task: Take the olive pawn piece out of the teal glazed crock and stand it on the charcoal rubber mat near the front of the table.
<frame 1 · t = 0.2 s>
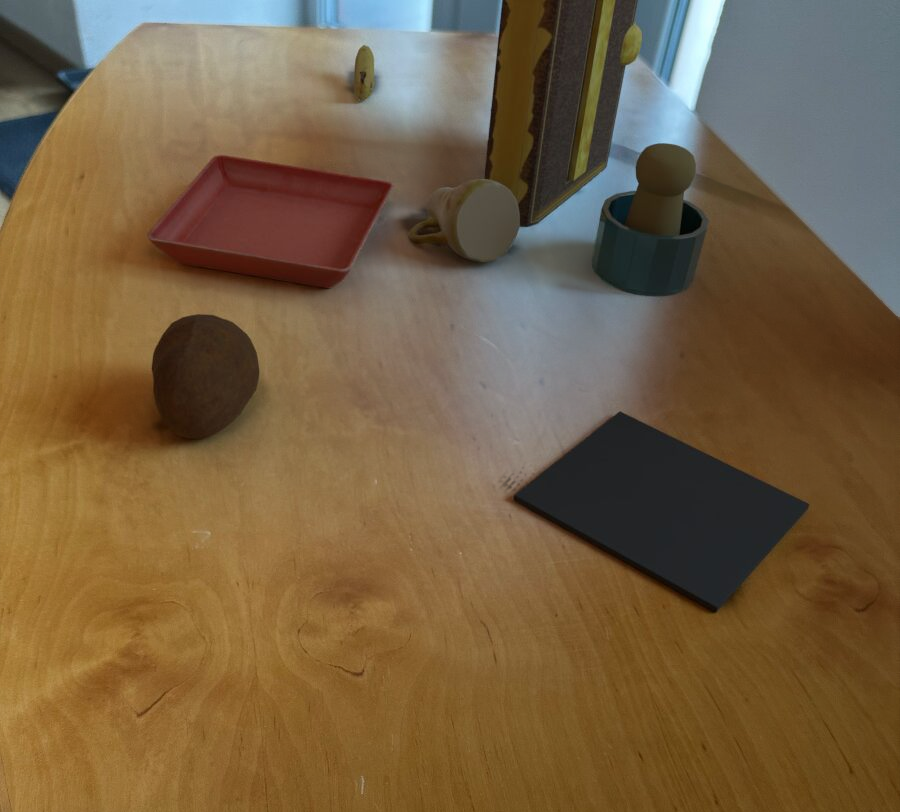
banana: (363, 95, 122), on the table
book: (548, 186, 108), on the table
plant saucer: (278, 243, 95), on the table
mug: (459, 247, 97), on the table
potato: (209, 419, 75), on the table
crock: (642, 270, 96), on the table
olive pawn piece: (642, 269, 96), resting on crock
mat: (662, 504, 72), on the table
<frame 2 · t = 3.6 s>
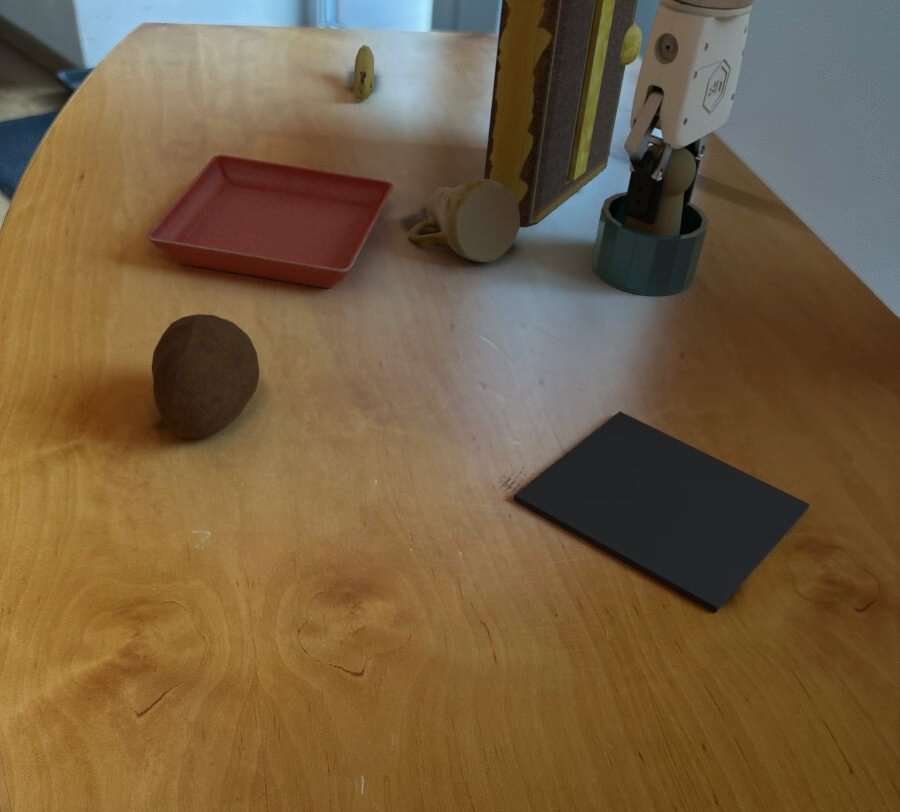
hand: (656, 206, 92), 6 cm above the table, tool pointing down, fingers closed on olive pawn piece, 5 cm apart
olive pawn piece: (642, 269, 96), resting on crock, touching gripper
everything else where it was.
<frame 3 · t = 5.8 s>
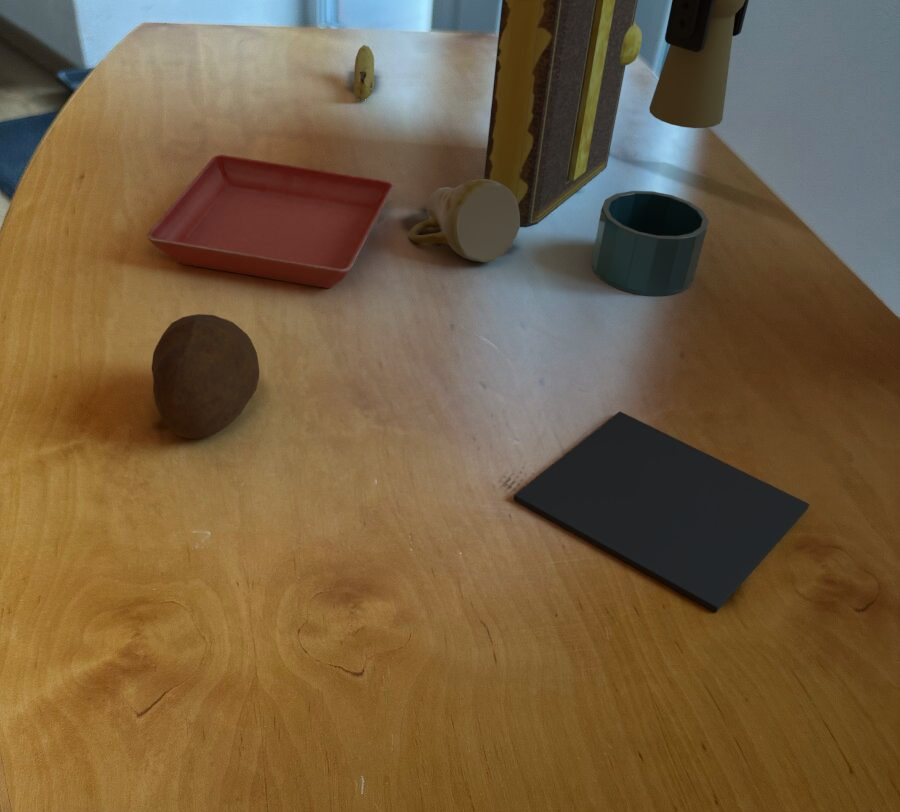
hand: (703, 36, 80), 21 cm above the table, tool pointing down, fingers closed on olive pawn piece, 5 cm apart
olive pawn piece: (685, 116, 84), point 15 cm above the table, touching gripper
everything else where it was.
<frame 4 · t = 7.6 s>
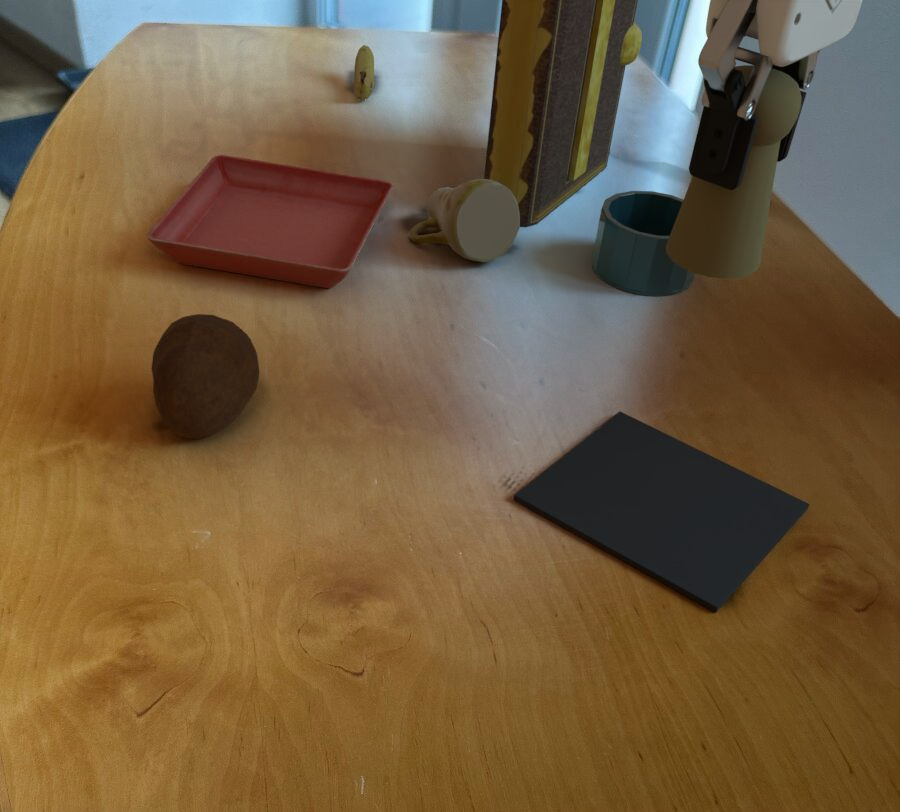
hand: (738, 164, 61), 21 cm above the table, tool pointing down, fingers closed on olive pawn piece, 5 cm apart
olive pawn piece: (711, 258, 65), point 15 cm above the table, touching gripper
everything else where it was.
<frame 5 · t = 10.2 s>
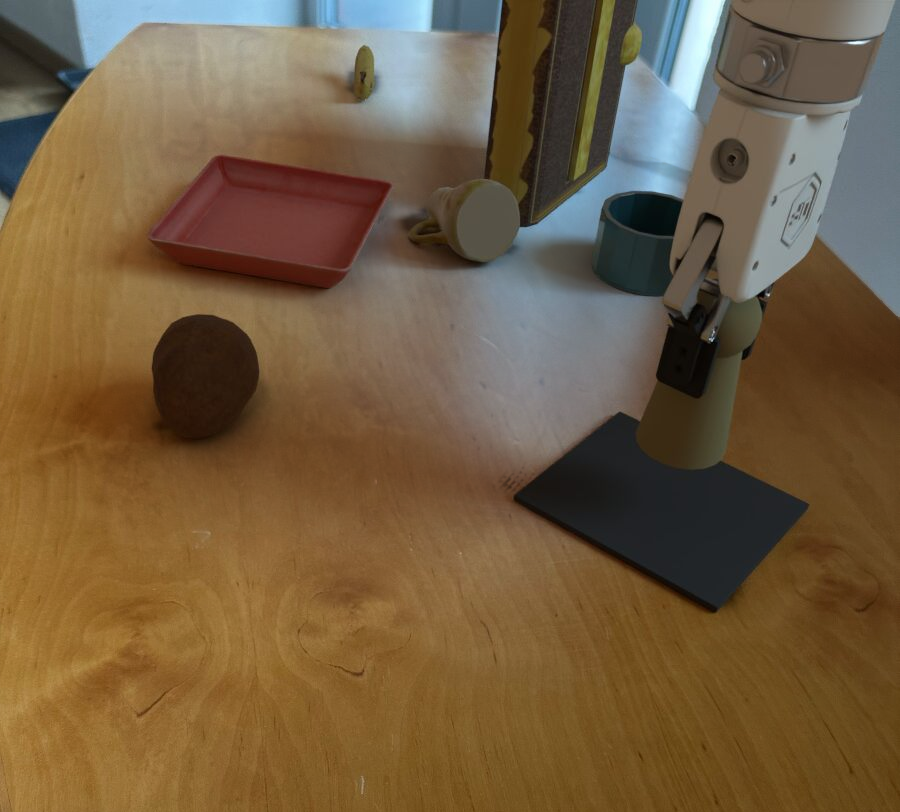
hand: (703, 366, 64), 11 cm above the table, tool pointing down, fingers closed on olive pawn piece, 5 cm apart
olive pawn piece: (679, 443, 68), point 5 cm above the table, touching gripper
everything else where it was.
when the fingers open (6 cm above the table, at t = 11.9 s): olive pawn piece stays where it is, resting on mat.
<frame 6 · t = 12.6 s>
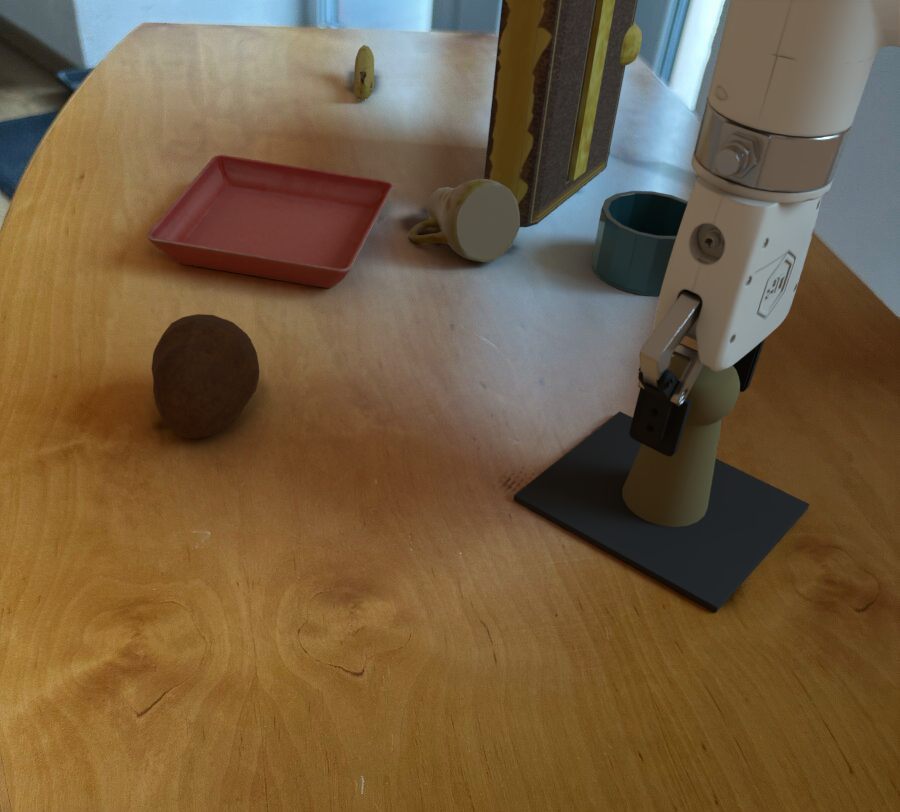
hand: (690, 412, 66), 8 cm above the table, tool pointing down, fingers open, 9 cm apart
olive pawn piece: (664, 500, 72), resting on mat
everything else where it was.
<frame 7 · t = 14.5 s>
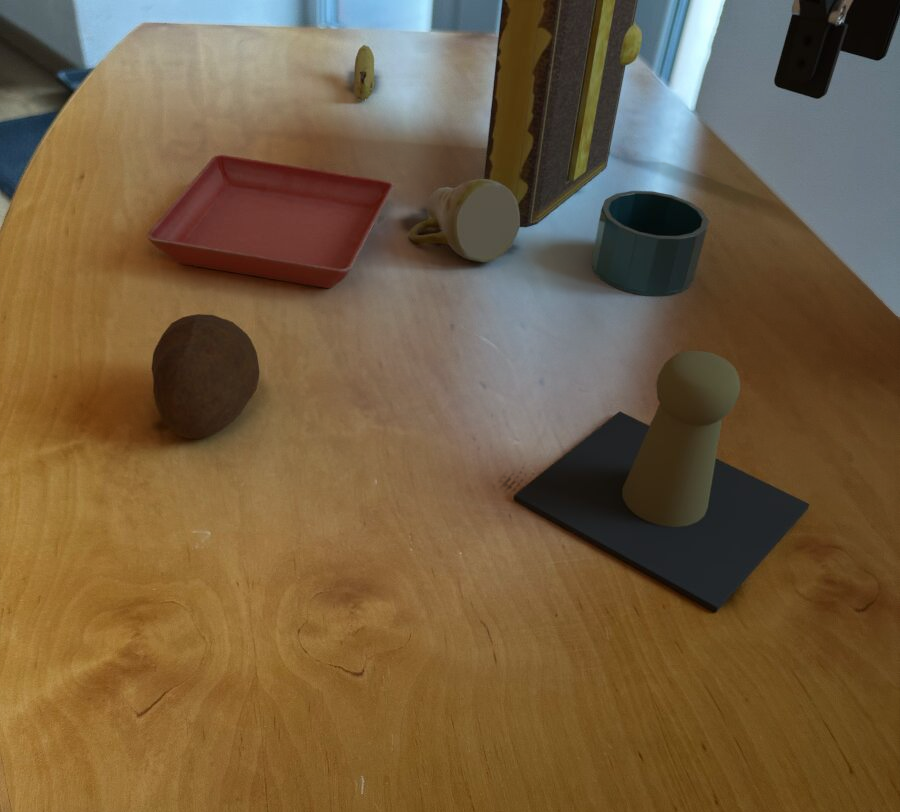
hand: (830, 72, 64), 25 cm above the table, tool pointing down, fingers open, 9 cm apart
nothing on the table moved.
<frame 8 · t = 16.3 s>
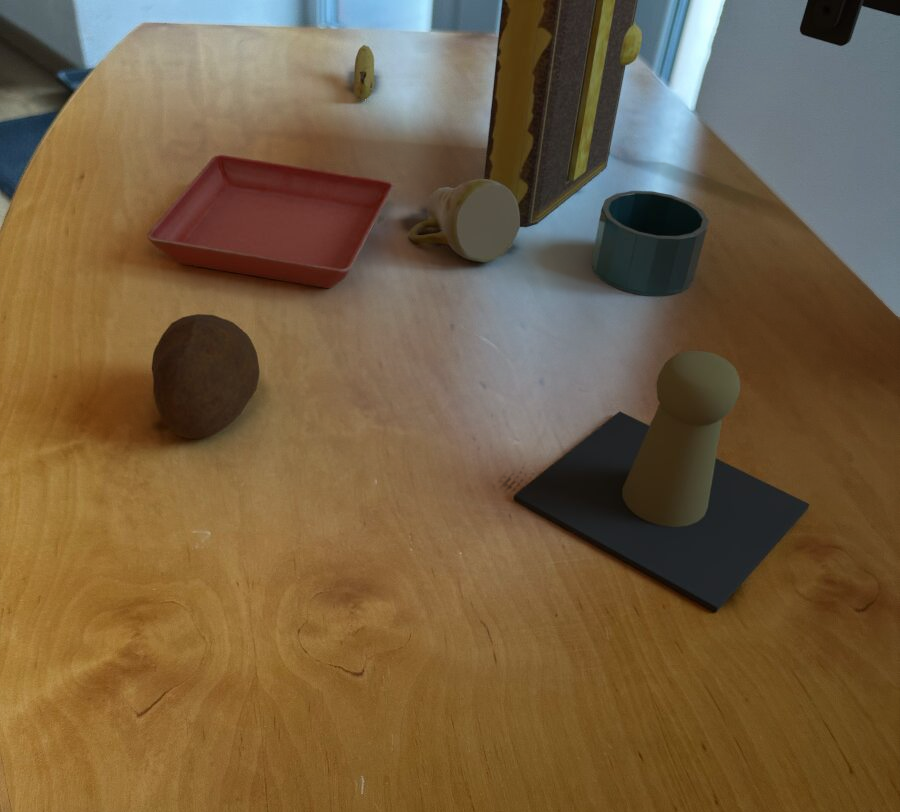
hand: (853, 24, 66), 26 cm above the table, tool pointing down, fingers open, 9 cm apart
nothing on the table moved.
at the end: olive pawn piece inside the target area on the mat (0.1 cm from its centre), point 0.3 cm above the mat's base; olive pawn piece tilted 0°; the gripper is holding nothing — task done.
